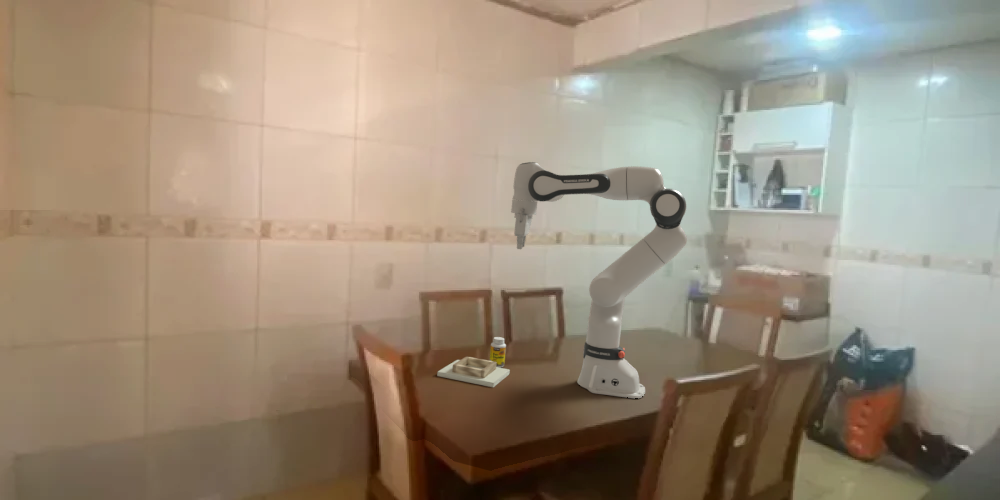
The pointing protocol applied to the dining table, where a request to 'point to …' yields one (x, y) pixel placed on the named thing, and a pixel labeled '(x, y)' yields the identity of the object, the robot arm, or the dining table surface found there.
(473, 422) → the dining table surface
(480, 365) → the holder
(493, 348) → the supplement bottle
